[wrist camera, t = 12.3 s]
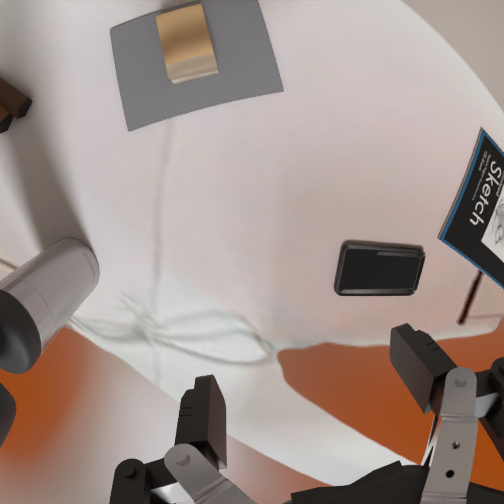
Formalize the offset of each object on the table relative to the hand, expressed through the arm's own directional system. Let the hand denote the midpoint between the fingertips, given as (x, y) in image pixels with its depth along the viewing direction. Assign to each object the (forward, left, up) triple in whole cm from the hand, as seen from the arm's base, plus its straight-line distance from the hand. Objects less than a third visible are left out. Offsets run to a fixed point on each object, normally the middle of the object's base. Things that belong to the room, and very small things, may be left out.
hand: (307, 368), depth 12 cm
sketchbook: (+47, -10, -29) cm, 56 cm away
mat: (-3, +24, -28) cm, 37 cm away
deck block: (-3, +24, -28) cm, 37 cm away
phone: (+17, -12, -29) cm, 35 cm away
